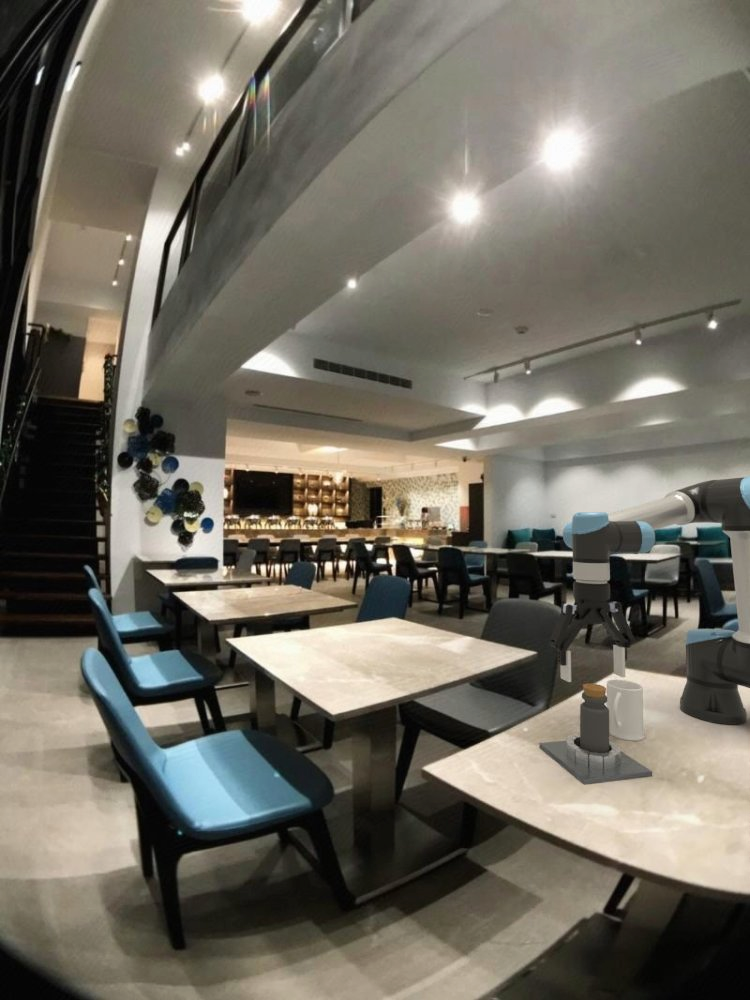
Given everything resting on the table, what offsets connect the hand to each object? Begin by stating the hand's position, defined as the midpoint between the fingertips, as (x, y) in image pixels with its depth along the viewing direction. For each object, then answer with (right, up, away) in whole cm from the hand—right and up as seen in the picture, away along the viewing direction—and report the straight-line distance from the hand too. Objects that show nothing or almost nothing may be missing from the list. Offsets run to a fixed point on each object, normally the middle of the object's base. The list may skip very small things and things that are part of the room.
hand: (593, 677), depth 106 cm
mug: (+13, -19, +12) cm, 26 cm away
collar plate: (-1, -18, -1) cm, 18 cm away
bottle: (0, -17, -1) cm, 17 cm away
